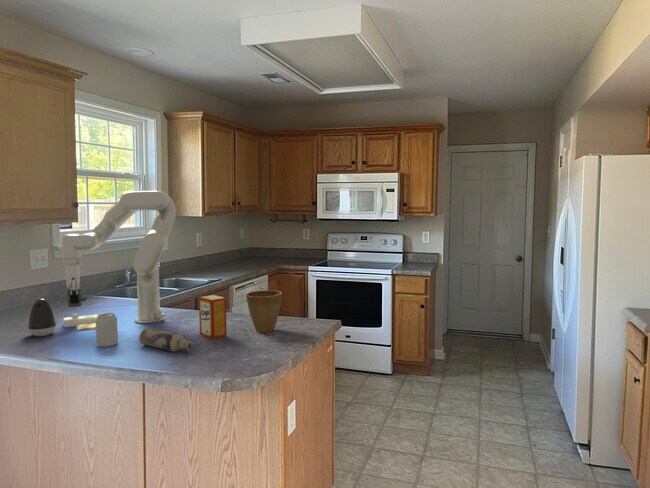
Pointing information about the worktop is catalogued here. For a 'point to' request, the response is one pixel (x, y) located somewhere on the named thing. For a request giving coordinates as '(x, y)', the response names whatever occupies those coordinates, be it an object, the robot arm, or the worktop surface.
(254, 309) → the plant pot
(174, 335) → the decorative bottle
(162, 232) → the robot arm
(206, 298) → the baking soda box
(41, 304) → the dark egg-shaped diffuser
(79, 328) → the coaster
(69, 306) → the charger
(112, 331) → the can
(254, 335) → the worktop surface
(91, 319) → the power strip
